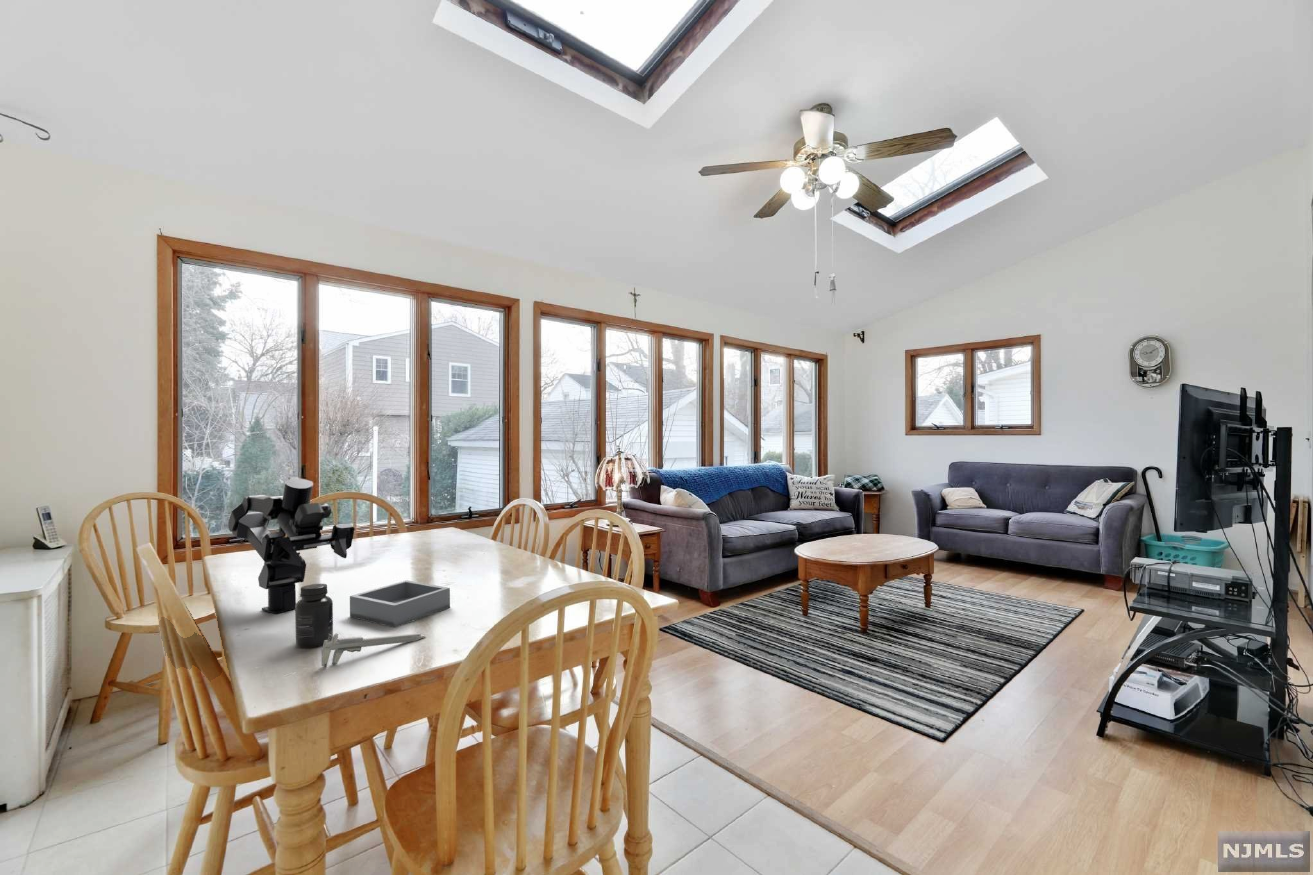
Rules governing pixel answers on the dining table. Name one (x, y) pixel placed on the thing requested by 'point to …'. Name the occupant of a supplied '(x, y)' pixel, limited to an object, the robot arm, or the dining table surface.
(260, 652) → the dining table surface
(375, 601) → the bin
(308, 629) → the supplement bottle
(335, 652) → the caliper
